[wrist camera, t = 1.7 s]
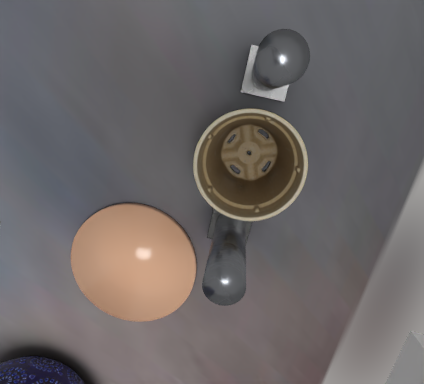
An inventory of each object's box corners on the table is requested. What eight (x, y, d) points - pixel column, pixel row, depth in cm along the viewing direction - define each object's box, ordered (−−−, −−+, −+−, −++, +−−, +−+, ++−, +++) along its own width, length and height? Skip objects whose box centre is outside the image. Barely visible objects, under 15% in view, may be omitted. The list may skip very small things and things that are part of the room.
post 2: (251, 46, 34) (256, 10, 20) (295, 56, 33) (329, 26, 20) (240, 92, 35) (238, 87, 21) (282, 101, 35) (308, 102, 21)
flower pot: (195, 182, 38) (182, 206, 29) (215, 96, 35) (207, 96, 27) (278, 203, 37) (288, 233, 29) (304, 118, 35) (323, 125, 27)
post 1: (216, 198, 38) (200, 252, 24) (254, 207, 38) (260, 267, 24) (208, 233, 39) (189, 304, 26) (245, 242, 39) (246, 318, 25)
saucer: (81, 189, 39) (77, 191, 38) (208, 219, 39) (207, 222, 38) (69, 300, 43) (65, 305, 42) (183, 328, 43) (182, 334, 42)
